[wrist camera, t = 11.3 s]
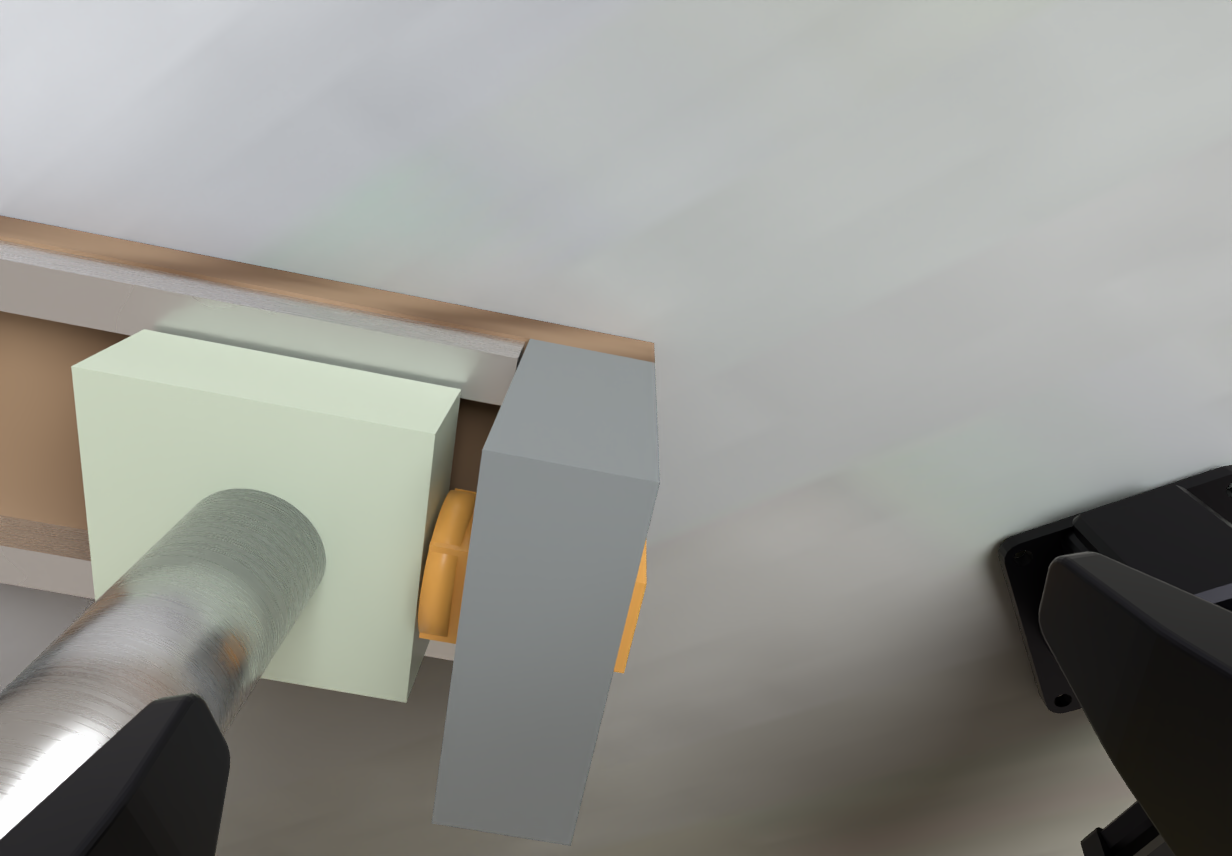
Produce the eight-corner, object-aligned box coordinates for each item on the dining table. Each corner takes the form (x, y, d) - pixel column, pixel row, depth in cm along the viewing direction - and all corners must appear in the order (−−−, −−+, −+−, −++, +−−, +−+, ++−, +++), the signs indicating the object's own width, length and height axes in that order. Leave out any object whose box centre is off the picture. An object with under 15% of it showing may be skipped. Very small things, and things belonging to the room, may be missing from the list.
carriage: (461, 389, 17) (246, 761, 8) (431, 635, 20) (247, 1123, 11) (143, 329, 17) (-474, 642, 8) (159, 588, 20) (-276, 1049, 11)
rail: (654, 343, 20) (659, 482, 13) (591, 622, 24) (570, 845, 17) (-285, 160, 19) (-815, 207, 12) (-197, 484, 22) (-564, 662, 16)
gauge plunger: (649, 500, 18) (650, 579, 16) (623, 608, 20) (619, 700, 17) (460, 465, 18) (426, 539, 15) (446, 577, 20) (412, 664, 17)
